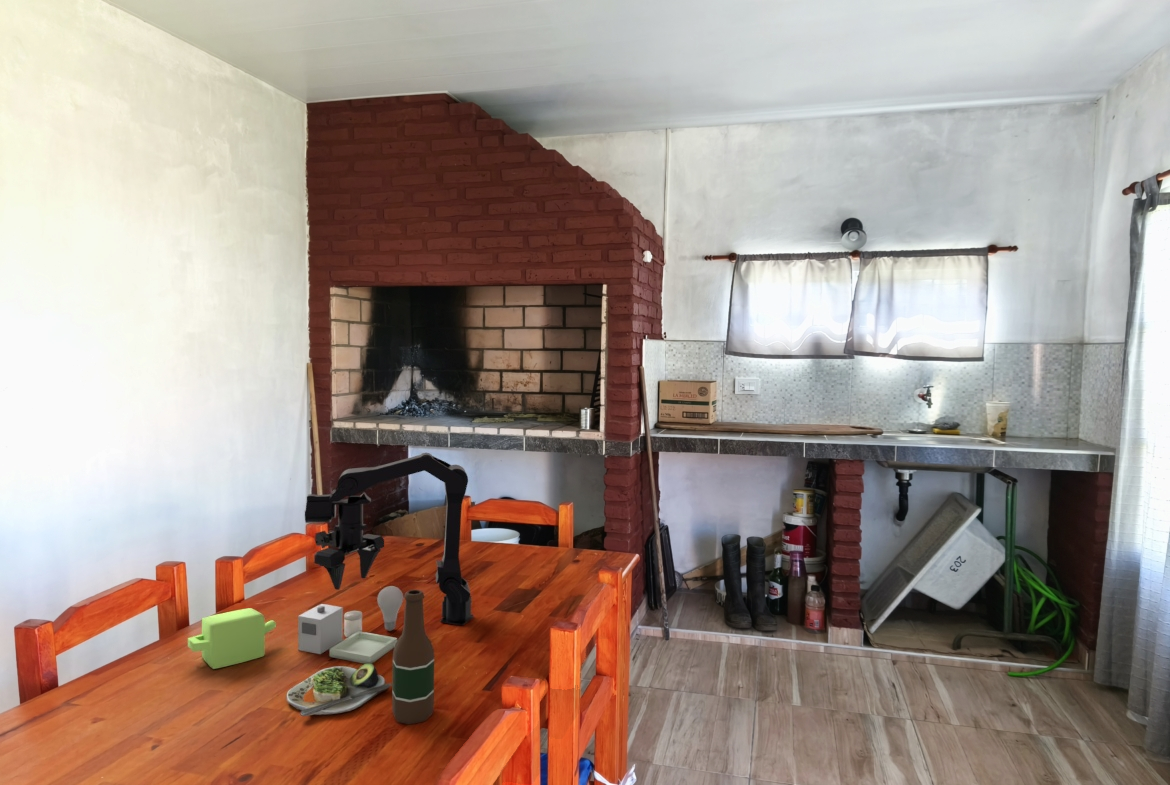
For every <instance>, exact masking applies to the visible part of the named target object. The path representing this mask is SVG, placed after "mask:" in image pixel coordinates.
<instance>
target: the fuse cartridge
mask: <svg viewBox="0 0 1170 785" xmlns="http://www.w3.org/2000/svg"><path fill="white" fill-rule="evenodd" d="M343 620H344V625H343V636H344V637H346V638H348V637H350V636H351V635H353V634H355V633H356V632H358V631H361V632H363V612H362V611H360V610H350V611H347V612H345V613H343Z"/></svg>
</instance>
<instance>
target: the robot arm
mask: <svg viewBox="0 0 1170 785" xmlns="http://www.w3.org/2000/svg"><path fill="white" fill-rule="evenodd" d="M421 472H427V473H429V475H431V476H433V477H434V478H436V479H437V480H438V481H439V480H440V481H441V482H443V483H444V490H445V498H446V499H445V500H446V509H445V511H446V512H445V528H444V529H445V530H444V549H443V556H442V559H441V560H436V561H435V562H436V573H435V574H434V575H435V582H436V583H435V584H437V585H438V586H439V587H438V588H439V590H440V591H441V592H442V593H443V594H444V596H443V601H442V602H441V617H442V618H441V619H440V621H439V622H440V623H443V624H444V623H445V624H451V625H456V626H461V627H462V626H465V625H466V624H467V623H468V622H469V621H471V620H472V619H473V618H474V617H475V615H474V614H472V594H471V591H470V590H471V589H470V586H469V582H468V581H467V580H466V579H465V578H464V577H462V570H461V563H460V543H461V540H460V539H461V526H462V525H461V524H462V509H463V508H462V507H463V501H464V499H465V496H466V492H467V489H468V488H467V487H468V484H469V477H468V473H467V472H466V470H465V468H464V467H463V466H461V465H459V464H450V463H448V462H446V461H445V460H442V459H440V458H438V457H437V456H434V455H432V453H429V452H422V453H421V454H419V455H415V456H412V457H408V458H404V459H400V460H397V461H394V462H393V461H392V462H389V463H386V464H385V463H384V464H382V465H381V464H380V465H378V466H373V467H356V468H347V469H345V470H344V471H343V472H342V473H341V474H340V476H339V478H338V481H337V484H336V485H337V486H336V488H335V489H333V490H332V491H331V494H314V493H312V494H310V493H309V494H307V496H306V504H305V510H304V521H305V524H315V523H317V524H320V523H331V522H332V520H333V519H336V517H337V512H338V520H337V521H338V524H337V525H334V526H333V531H330V532H326V530H323V531H318V532H316V533H315V534H314V535H315V536H314V543H315V545H316V546H317V547H319V546H320V547H321V550H317V551H316V552H315V553H314V559H313V560H314V562H313V564H316V565H318V566H319V567H323V568H324V569H325V570H326V571H327V572H328V575H329V577H330V579H331V582H332V585H333V587H334V589H335V590H336V591H339V590H340V588H341V585H342V582H343V576H344V573H345V572H344V571H345V567H346V563H345V562H344V561H345V559H346V556H348V555H350V554H352V553H355V552H357V554H358V556H359V568H360V569H359V570H360V571H359V572H360V578H361V579H367V577H368V576H367V575H368V574H369V572H370V570H371V567H372V566H373V563H374V561H375V560H376V559H377V557H378V555H379V553H380V552H382V549H384V548H385V539H384V538H383V536H382V535H378V534H372V533H371V534H370V533H366V534H364V530H367V528H368V525H367V524H366V523H364V505H369V504H370V503H371V501H372V498H371V497H369V496H368V495H367V493H366V492H365V491H367V490H369V489H370V488H373V487H374V486H376V485H378V484H382V483H385V482H388V481H392V480H396V479H400V478H403V477H406V476H410V475H413V474H418V473H421ZM361 493H362V494H361ZM358 494H360V495H358ZM346 497H347V498H346ZM344 498H346V499H344ZM337 506H338V508H337ZM337 509H338V511H337ZM329 546H331V548H330V547H329ZM335 548H338V549H335ZM465 623H466V624H465Z"/></svg>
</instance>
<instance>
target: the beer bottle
mask: <svg viewBox="0 0 1170 785" xmlns="http://www.w3.org/2000/svg"><path fill="white" fill-rule="evenodd" d="M424 598H425V593H424V592H423V591H422V590H421V589H410V590H408V591H406V592H405V593H404V595H403V599H405V602H404V603H405V605H404V606H405V607H404V616H403V617H404V618H403V628H402V633H401V635H400V636H399V638H397V642H396V645H395V647H394V648H393V649H392V650H393V651H392V685H391V687H392V689H391V690H392V692H391V693H392V700H391V703H392V704H391V705H392V715H393V716H394V719H395V720H396V722H397V723H401V724H406V725H410V726H411V725H414V724H418V723H419V724H420V723H423V722H425V721H426V720H427V719H429V717H431V715H433V714H434V713H433V712H434V704H435V702H434V701H435V700H434V699H435V698H434V697H435V695H434V694H435V651H434V650H435V649H434V646H433V643H432V641H431V639H430V638H429V637H428V635H427V633H426V629H425V619H424V618H425V617H424V616H425V615H424V601H423V600H424Z"/></svg>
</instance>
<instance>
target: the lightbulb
mask: <svg viewBox="0 0 1170 785" xmlns="http://www.w3.org/2000/svg"><path fill="white" fill-rule="evenodd" d="M376 600H377V606H379V609H380V610H381V613H382V616H383V621H384V629H385V630H387V631H388V632H392V631H393V630H394V629H395V628H396V623H397V619H398V612H399V610H400V608H401V606H402V604H403V602H404V594H403V592H402V590H401V589H400V588H399V587H396V586H393V585H390V586H386V587H383V589H381V590H380V591H379V593H378V594H377V599H376Z"/></svg>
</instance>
